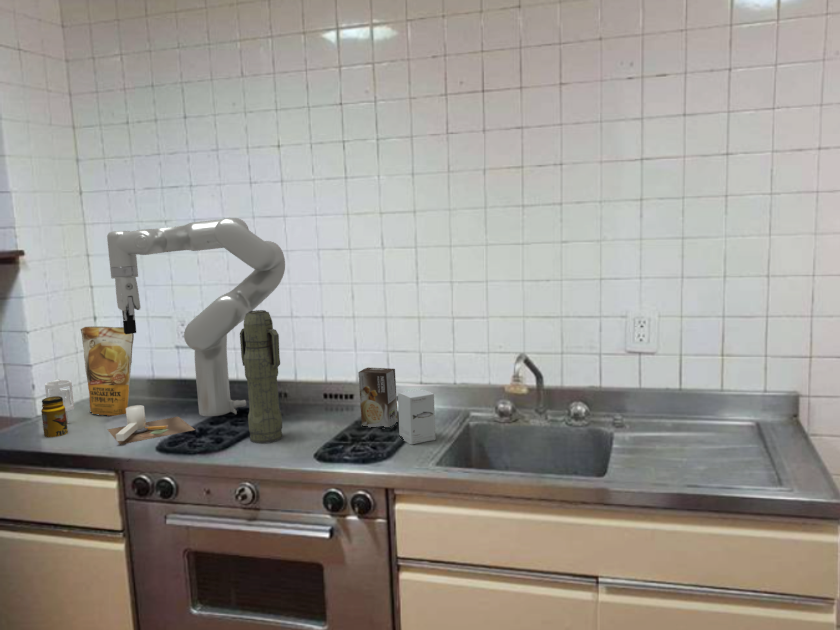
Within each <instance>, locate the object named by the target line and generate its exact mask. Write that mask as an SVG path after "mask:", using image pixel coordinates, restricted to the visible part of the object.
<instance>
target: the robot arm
mask: <svg viewBox="0 0 840 630" xmlns="http://www.w3.org/2000/svg"><path fill="white" fill-rule="evenodd" d="M106 237H107V239H106V240H107V241H106V242H107V249H108V258H109V259H108V261H109V271H110V279H114V280H115V281H114V282H115V283H114V284H115V294H116V305H117V308H118V309H119V310H120V311H121V314H122V320H123V321H122V324H123V325H122V327H124V333H125V334H137V326H136V325H137V323H136V316H135V312H136V311H135V310H137V311H140V310H141V308H142V307H141V300H140V294H139V288H138V281H137V278H138V277H139V269H138V261H137V260H138V259H137V258H138V257H137V255H138V256H139V255H141V256H147V255H148V256H149V255H154V254H163V253H171V252H173V253H174V252H180V251H190V252H199V251H206V250H217V249H225V250H227V251H228V253H230V254H231V255H233V256H234V257H236V258H237V259H239V260H240V261H242V262H243V263H244V264H246V265H247V266H249V267H250V268H252V269H254V270H253V271H252V272H251V273H250V274H249V275H247V276H246V277H245V278H244V279H243V280H242V281H241V282H240V283H239V284H238V285H236V286H235V287H234V288H233V289H232V290H230V291H229V292H226V293H224V294H221V295H220V296H218V297H217V298H215V300H214V301H212V302H211V303H210V304H209V305H207V307H205V308H204V309H203V310H202V311H201V312H200V313H198V315H196V317H194V318H193V319H192V320H191V321H189V323H188V324H187V325H186V327H185V328H184V329H185V330H184V332H183V333H184V334H183V337H184V342H185V344H186V345H187V346H188V347H189V348H190V349H191V350H194V371H195V378H196V379H195V381H196V383H195V384H196V392H197V393H196V394H197V405H198V415H199V416H202V417H218V416H223V415H227V414H229V413H232V414H234V415H237V414H238V413H237V410H236V409H237V408H239V407H240V408H241V407H246V406H247V401H246V399H242V400H240V399H237V400H232V398H231V393H230V392H231V391H230V379H229V367H228V366H229V365H228V348H227V347H228V346H227V345H228V334H229V333H230V332H231V331H233V330H234V328H236V327H237V326H238V325H239V324H240V323H242V322H244V319H245V315H246V313H248V312H249V311H255V309H256V308H257V307H259V305H261V304H262V303H263V302H264V301H265V300H266V299H267V298H268V297H269V296H270V295H271V294H273V292H274V291H275V290H276V289H277V288H278V287H279V285H280V284H281V282H282V280H283V277H284V274H285V271H286V259H285V256H284V252H283V250H282V248H281V247H280V246H279V245H278V244H277V243H276V242H274V241H270V240H264V239H262V238H261V237H259V236H258V235H257V234H255V233H254V232H252V231H251V230H249V226H248V224H247V223H246V222H245V221H244V220H243V219H241V218H237V217H226V218H221V219H213V220H211V219H210V220H201V221H192V222H188V223H187V224H184V225H178V226H172V227H171V226H169V227H160V228H144V229H138V230H136V229H135V230H117V231H115V230H113V231H109V232H108V234H107V236H106Z"/></svg>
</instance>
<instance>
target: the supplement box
mask: <svg viewBox="0 0 840 630" xmlns="http://www.w3.org/2000/svg"><path fill="white" fill-rule="evenodd" d="M397 414H398V432H399V433H398V435H400V436H402V437H403V439H404V440H403V441H404V442H405V443H407V444H408V445H409V444H410V445H411V446H412V445H414V444H420V443H426V442H430V441H435V440H436V417H435V416H436V415H435V393H433V392H431V391H428V390H425V389H423V388H421V389H419V388H418V389H414V390H413V389H412V390H407V391H400V392H397Z"/></svg>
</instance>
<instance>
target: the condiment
mask: <svg viewBox="0 0 840 630" xmlns="http://www.w3.org/2000/svg"><path fill="white" fill-rule="evenodd" d="M41 403H42V405H41V411H40V412H41V419H42V428H43V435H44V438H57V437H61V436H65V435H68V431H69V430H68V424H67V419H66V411H65V406H64V405H63V398H62V397H60V396H53V397H48V398H46V397H44V398H43V399H41Z"/></svg>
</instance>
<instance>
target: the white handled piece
mask: <svg viewBox="0 0 840 630" xmlns="http://www.w3.org/2000/svg"><path fill="white" fill-rule="evenodd" d="M125 416H126V424H127V425H125V426H126V427H124V428H123V429H122V430H121V431H119V432H118V433H117V434H116V439H115V441H116V442H117V441H124V440H125V439H127V438H128V437H129V436H130V435H131V434H134V433H141V432H145V431H147V430H152V429H166V426H153V427H149V426H148V425H146V422H147V421H146V413H145V406H144V405H140V404H136V405H130V406H128V407H127V408H126V414H125Z"/></svg>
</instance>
